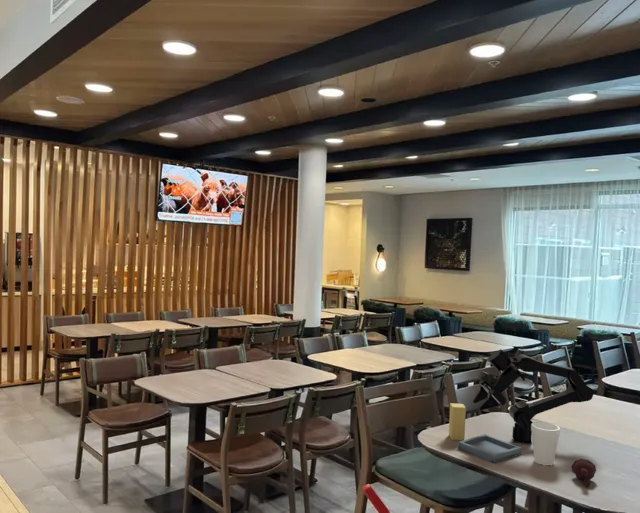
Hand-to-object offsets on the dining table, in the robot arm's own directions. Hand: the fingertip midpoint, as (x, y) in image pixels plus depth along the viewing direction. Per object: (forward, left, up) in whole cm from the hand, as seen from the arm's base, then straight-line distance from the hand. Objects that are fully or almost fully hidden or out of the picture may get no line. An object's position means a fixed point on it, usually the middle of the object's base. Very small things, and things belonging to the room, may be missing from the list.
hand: (476, 405), depth 212 cm
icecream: (-35, +25, -13) cm, 45 cm away
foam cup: (-24, +15, -13) cm, 31 cm away
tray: (-5, +12, -13) cm, 18 cm away
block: (+7, +2, -13) cm, 15 cm away
